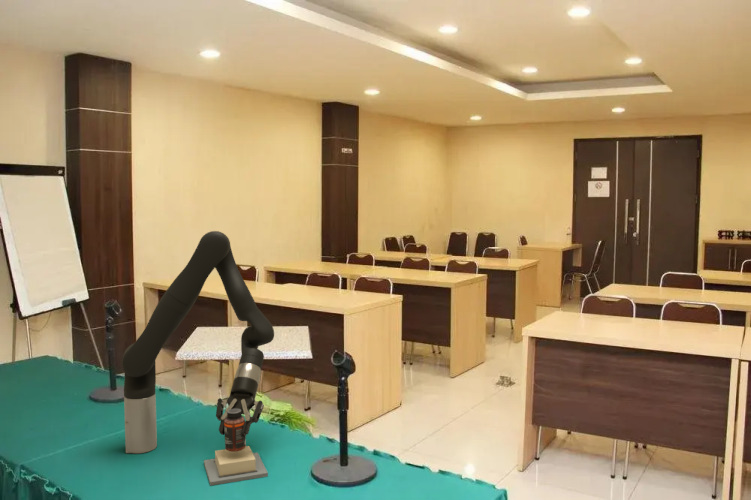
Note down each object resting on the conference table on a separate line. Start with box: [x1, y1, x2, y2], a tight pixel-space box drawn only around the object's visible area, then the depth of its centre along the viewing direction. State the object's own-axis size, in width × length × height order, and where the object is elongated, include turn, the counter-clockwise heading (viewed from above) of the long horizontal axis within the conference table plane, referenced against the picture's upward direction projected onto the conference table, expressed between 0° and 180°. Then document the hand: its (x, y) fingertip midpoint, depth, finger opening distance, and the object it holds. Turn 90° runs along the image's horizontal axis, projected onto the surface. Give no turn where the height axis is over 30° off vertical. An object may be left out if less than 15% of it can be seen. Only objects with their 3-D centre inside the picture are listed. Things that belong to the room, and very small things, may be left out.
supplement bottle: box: [224, 409, 247, 452], centre depth 183 cm, size 6×6×11 cm
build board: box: [203, 445, 269, 486], centre depth 184 cm, size 16×15×4 cm
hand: (232, 434), depth 182 cm, fingers closed on supplement bottle, 6 cm apart
